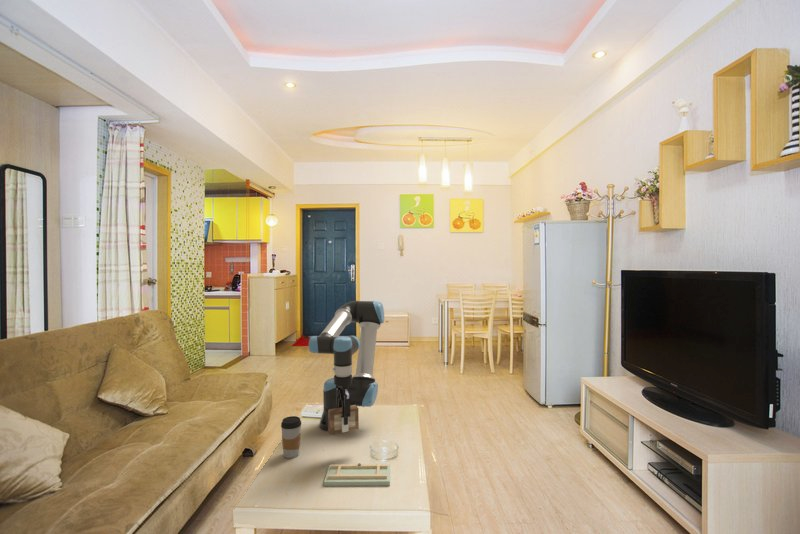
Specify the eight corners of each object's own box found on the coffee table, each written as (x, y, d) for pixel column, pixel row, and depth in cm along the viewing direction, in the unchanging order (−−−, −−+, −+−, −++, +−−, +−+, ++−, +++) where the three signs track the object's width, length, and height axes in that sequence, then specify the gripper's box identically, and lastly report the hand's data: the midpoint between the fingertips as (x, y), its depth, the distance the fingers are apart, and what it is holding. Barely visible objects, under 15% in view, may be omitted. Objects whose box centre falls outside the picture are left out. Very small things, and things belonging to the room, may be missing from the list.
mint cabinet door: (329, 468, 153) (329, 461, 153) (390, 468, 154) (390, 460, 154) (324, 485, 141) (323, 477, 141) (389, 485, 142) (389, 477, 142)
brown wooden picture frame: (328, 430, 163) (328, 409, 163) (355, 425, 168) (355, 404, 168) (331, 434, 160) (330, 413, 159) (358, 428, 165) (358, 408, 164)
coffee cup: (295, 460, 159) (295, 424, 159) (277, 458, 161) (277, 422, 161) (304, 451, 168) (304, 416, 167) (287, 449, 169) (286, 415, 169)
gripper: (328, 370, 169) (329, 422, 170) (340, 381, 154) (340, 439, 155) (345, 367, 172) (345, 419, 173) (358, 379, 157) (358, 435, 158)
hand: (343, 429), depth 164 cm, fingers closed on brown wooden picture frame, 4 cm apart
